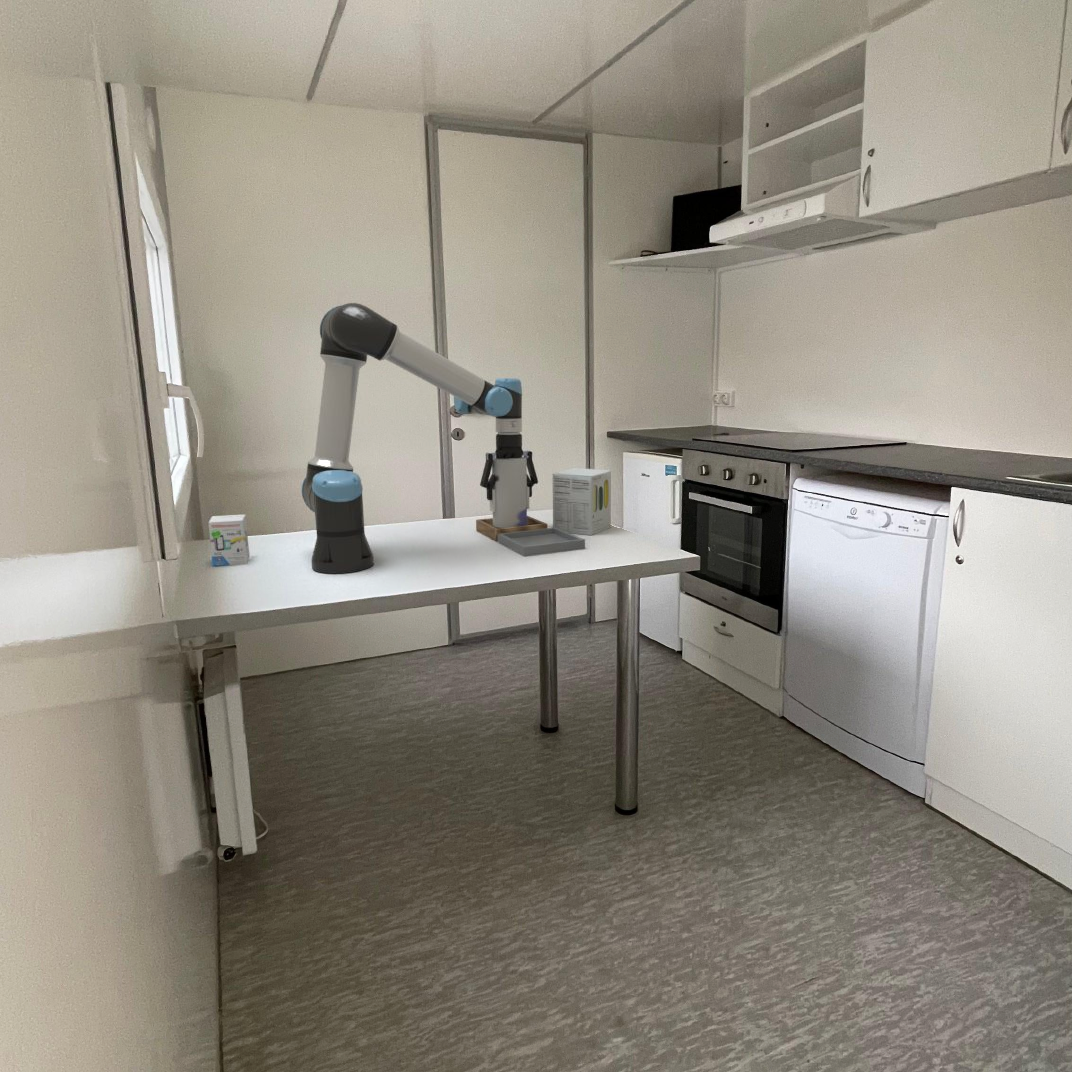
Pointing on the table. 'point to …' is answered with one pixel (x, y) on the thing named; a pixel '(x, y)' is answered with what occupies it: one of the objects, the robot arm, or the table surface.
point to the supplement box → (582, 500)
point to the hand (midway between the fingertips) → (509, 509)
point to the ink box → (229, 540)
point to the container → (510, 492)
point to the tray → (541, 541)
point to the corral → (492, 532)
